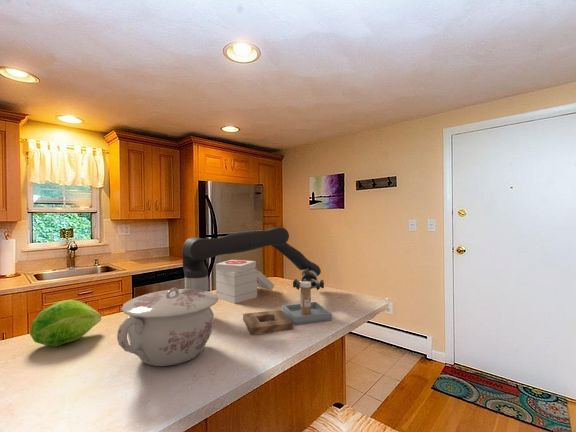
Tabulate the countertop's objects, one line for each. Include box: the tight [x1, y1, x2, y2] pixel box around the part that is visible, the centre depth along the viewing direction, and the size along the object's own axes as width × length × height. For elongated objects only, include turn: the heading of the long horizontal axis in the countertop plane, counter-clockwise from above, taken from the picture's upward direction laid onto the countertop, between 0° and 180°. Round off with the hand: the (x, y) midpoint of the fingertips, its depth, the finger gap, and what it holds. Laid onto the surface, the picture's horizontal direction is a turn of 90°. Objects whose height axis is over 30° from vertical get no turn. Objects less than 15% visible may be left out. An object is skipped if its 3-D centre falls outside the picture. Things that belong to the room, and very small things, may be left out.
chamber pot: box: [116, 286, 219, 367], centre depth 91 cm, size 28×28×21 cm
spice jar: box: [300, 281, 312, 315], centre depth 126 cm, size 5×5×13 cm
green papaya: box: [29, 299, 102, 347], centre depth 102 cm, size 15×20×14 cm
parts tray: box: [281, 301, 333, 326], centre depth 126 cm, size 16×16×3 cm
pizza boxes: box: [215, 259, 275, 305], centre depth 158 cm, size 19×30×18 cm, turn 139°
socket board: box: [242, 309, 294, 336], centre depth 116 cm, size 16×16×2 cm
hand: (307, 287), depth 132 cm, fingers open, 8 cm apart
